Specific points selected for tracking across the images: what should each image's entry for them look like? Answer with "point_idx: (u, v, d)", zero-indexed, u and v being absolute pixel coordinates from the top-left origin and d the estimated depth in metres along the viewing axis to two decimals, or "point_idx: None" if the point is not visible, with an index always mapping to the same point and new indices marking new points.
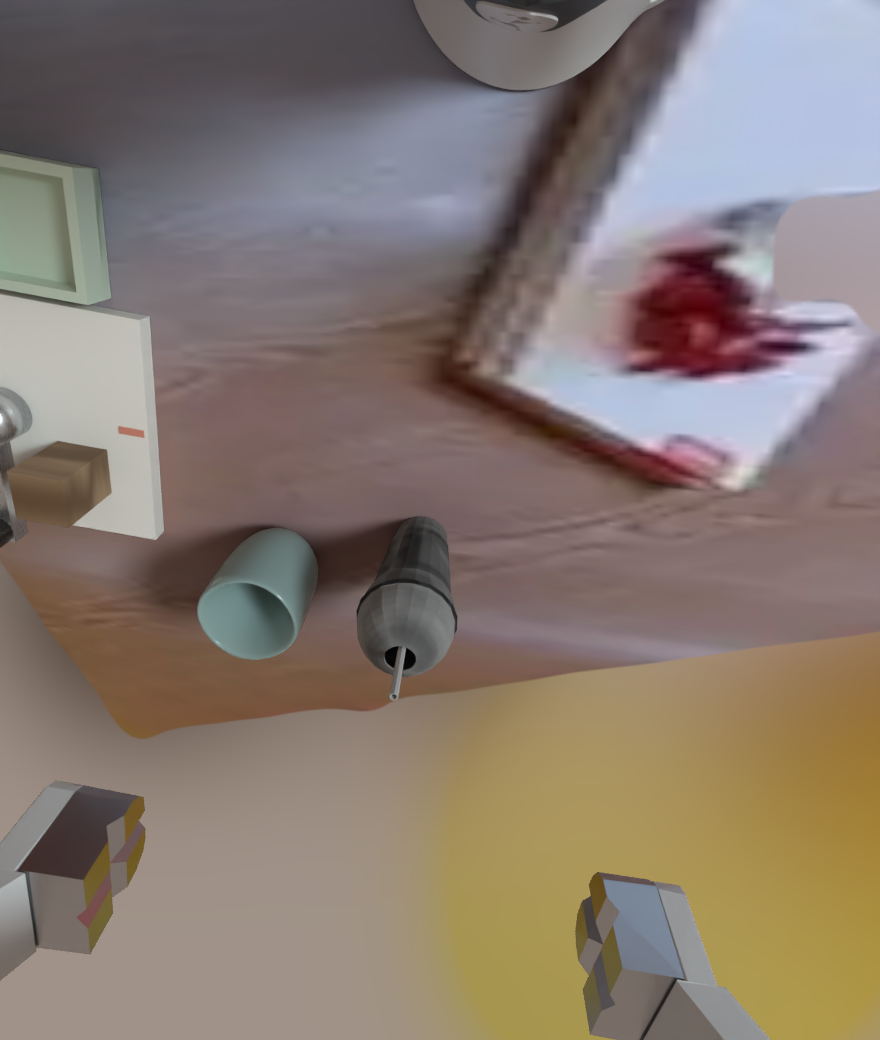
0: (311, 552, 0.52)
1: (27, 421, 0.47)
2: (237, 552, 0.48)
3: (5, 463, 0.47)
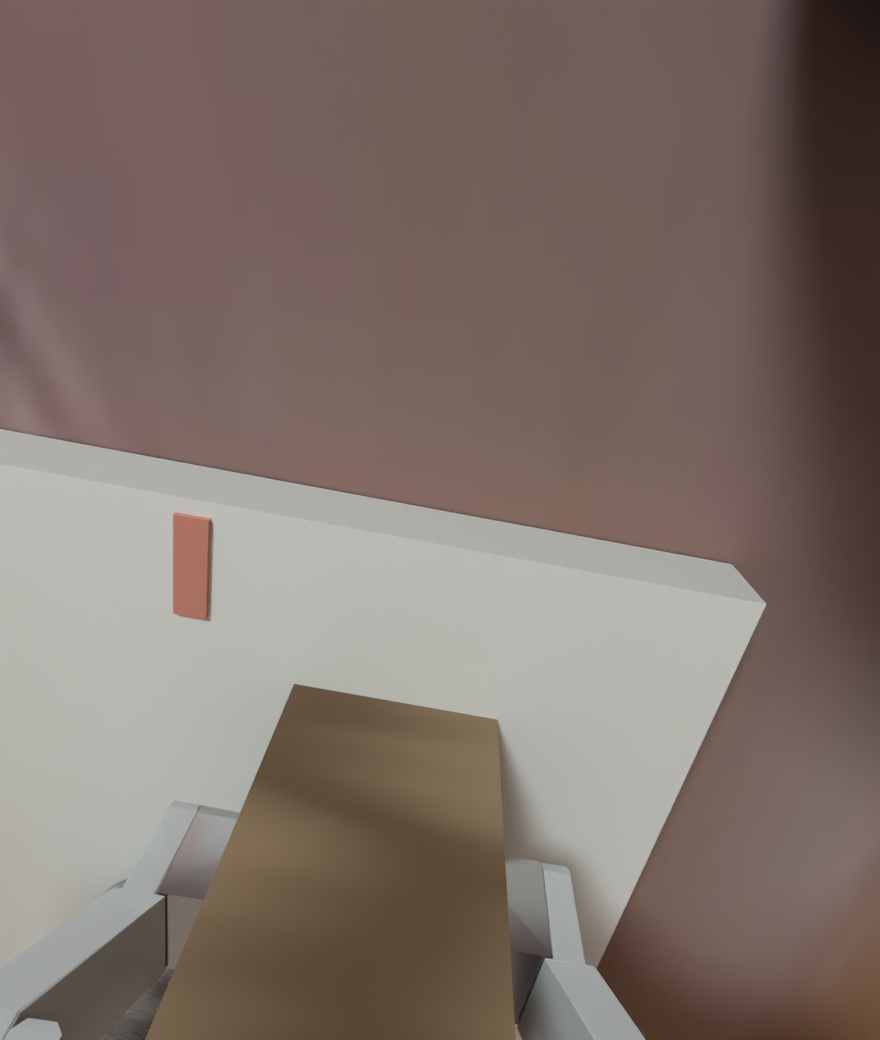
0: None
1: None
2: None
3: None
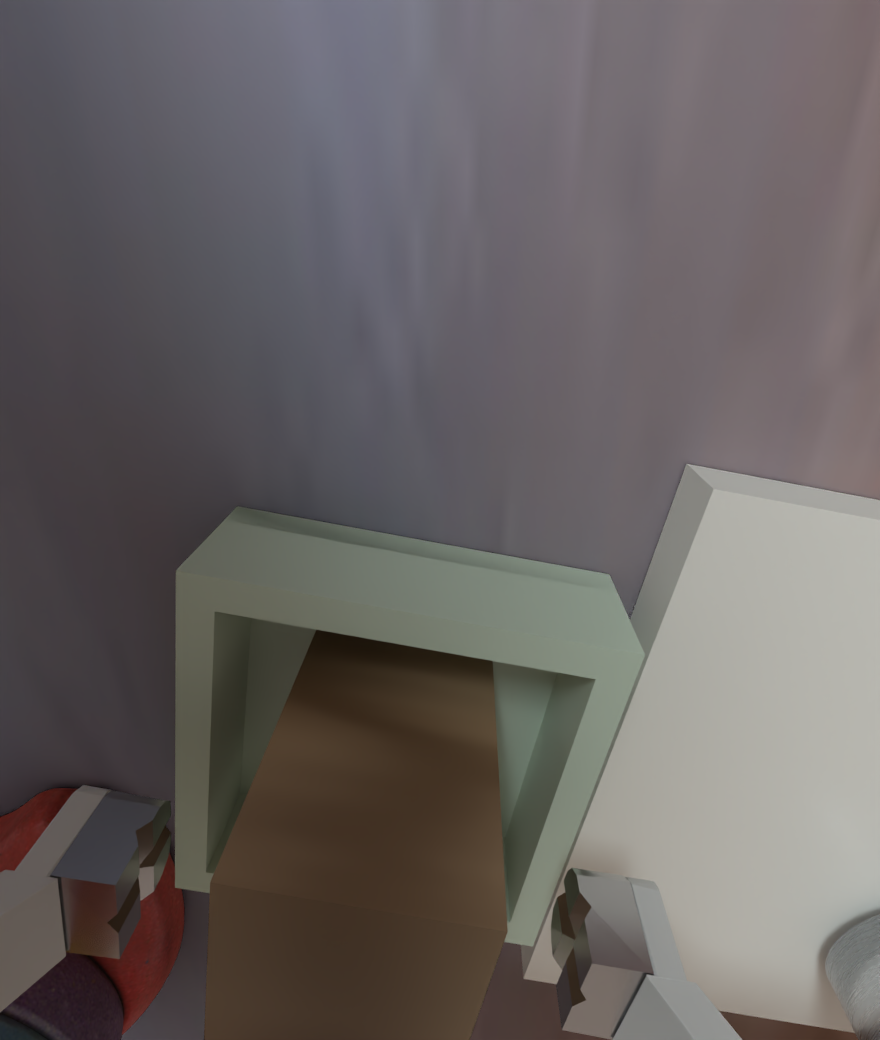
0: None
1: None
2: None
3: None
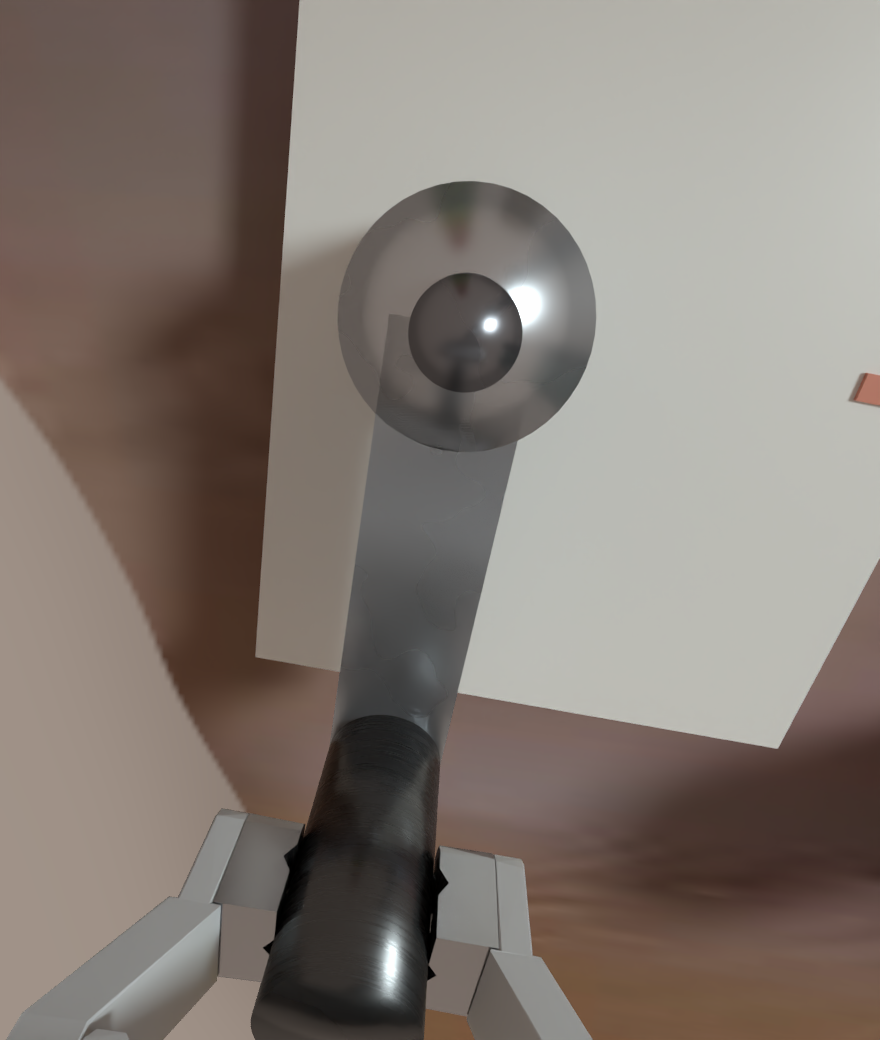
0: None
1: None
2: None
3: None
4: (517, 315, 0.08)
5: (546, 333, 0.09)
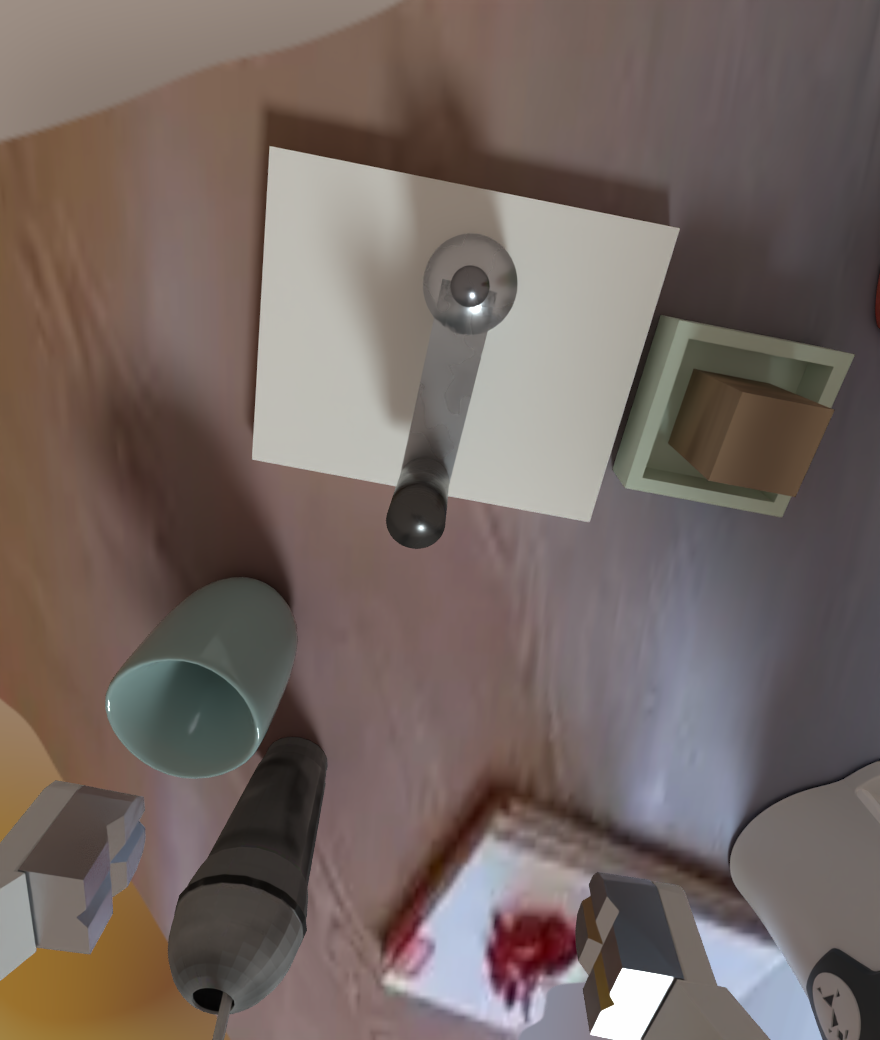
0: None
1: None
2: (274, 642, 0.33)
3: None
4: (488, 280, 0.24)
5: (499, 288, 0.25)
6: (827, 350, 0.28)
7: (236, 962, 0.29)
